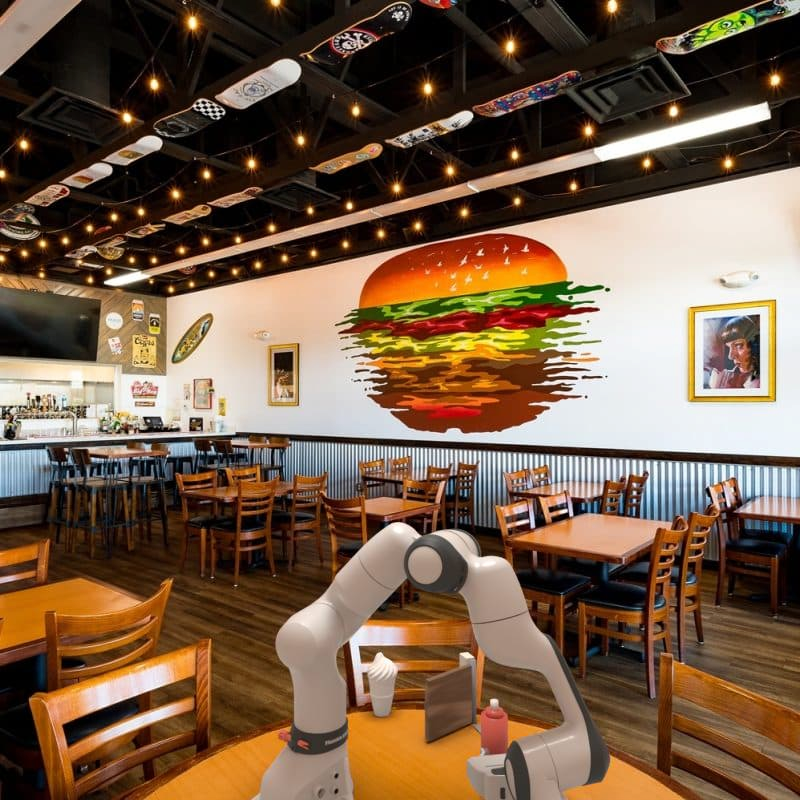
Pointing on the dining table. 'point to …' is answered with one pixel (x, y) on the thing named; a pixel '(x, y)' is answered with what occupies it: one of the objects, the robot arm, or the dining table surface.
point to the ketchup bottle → (494, 729)
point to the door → (448, 701)
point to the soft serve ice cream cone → (382, 684)
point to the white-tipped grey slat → (469, 659)
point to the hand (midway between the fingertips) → (504, 748)
